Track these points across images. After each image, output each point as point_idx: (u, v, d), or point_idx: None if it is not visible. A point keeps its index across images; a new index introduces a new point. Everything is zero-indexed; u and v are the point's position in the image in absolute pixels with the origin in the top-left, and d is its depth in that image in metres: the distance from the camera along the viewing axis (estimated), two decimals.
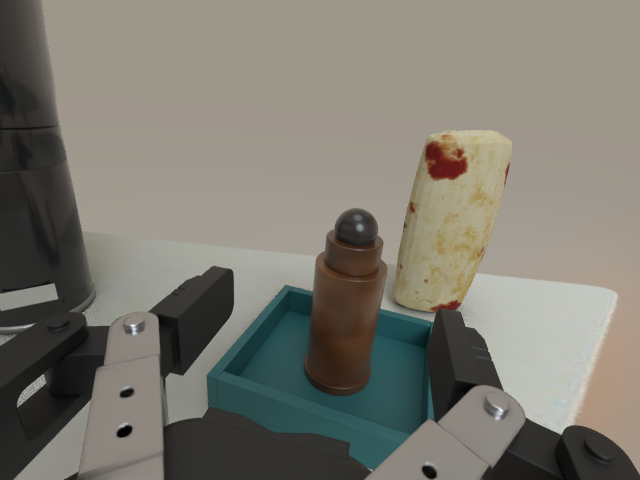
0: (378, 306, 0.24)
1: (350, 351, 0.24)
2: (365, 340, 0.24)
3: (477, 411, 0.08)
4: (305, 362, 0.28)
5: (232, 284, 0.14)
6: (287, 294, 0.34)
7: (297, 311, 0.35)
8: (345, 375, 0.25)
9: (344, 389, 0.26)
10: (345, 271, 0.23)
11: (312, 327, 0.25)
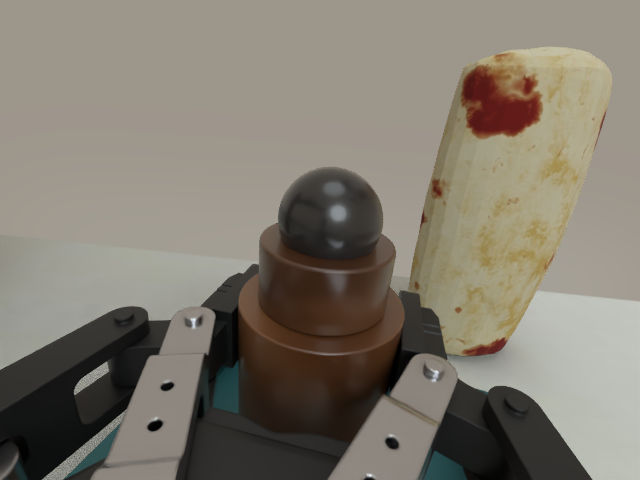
0: None
1: None
2: None
3: (419, 378, 0.08)
4: None
5: None
6: None
7: None
8: None
9: None
10: (300, 325, 0.09)
11: None
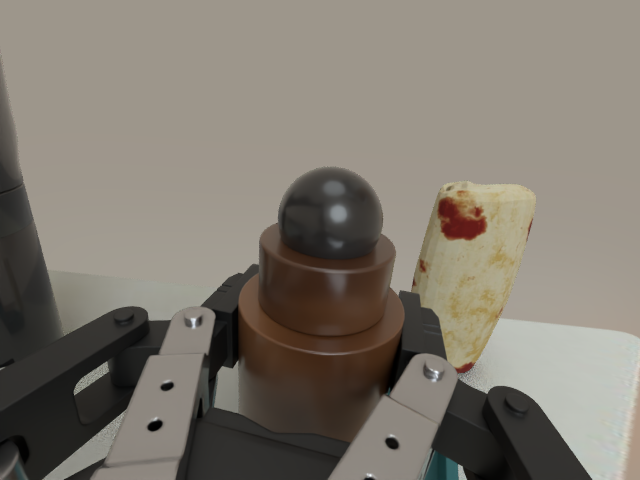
0: None
1: None
2: None
3: (419, 378, 0.08)
4: None
5: None
6: None
7: None
8: None
9: None
10: (300, 325, 0.09)
11: None
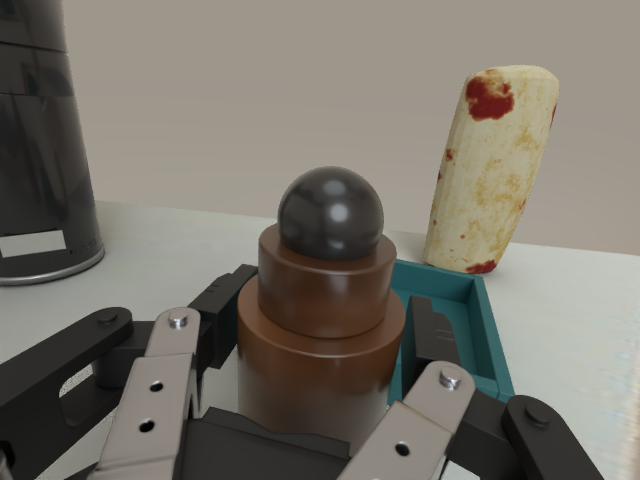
0: (384, 400, 0.10)
1: None
2: None
3: (434, 385, 0.08)
4: None
5: None
6: None
7: None
8: None
9: None
10: (300, 327, 0.09)
11: None
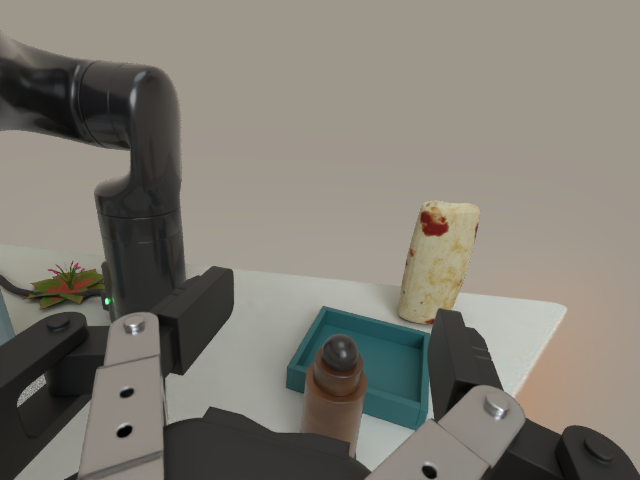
0: (359, 416, 0.28)
1: None
2: None
3: (477, 411, 0.08)
4: None
5: (232, 284, 0.14)
6: (325, 313, 0.49)
7: (331, 324, 0.50)
8: None
9: None
10: (330, 392, 0.26)
11: (303, 429, 0.29)
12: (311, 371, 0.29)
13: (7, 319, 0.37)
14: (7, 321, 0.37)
